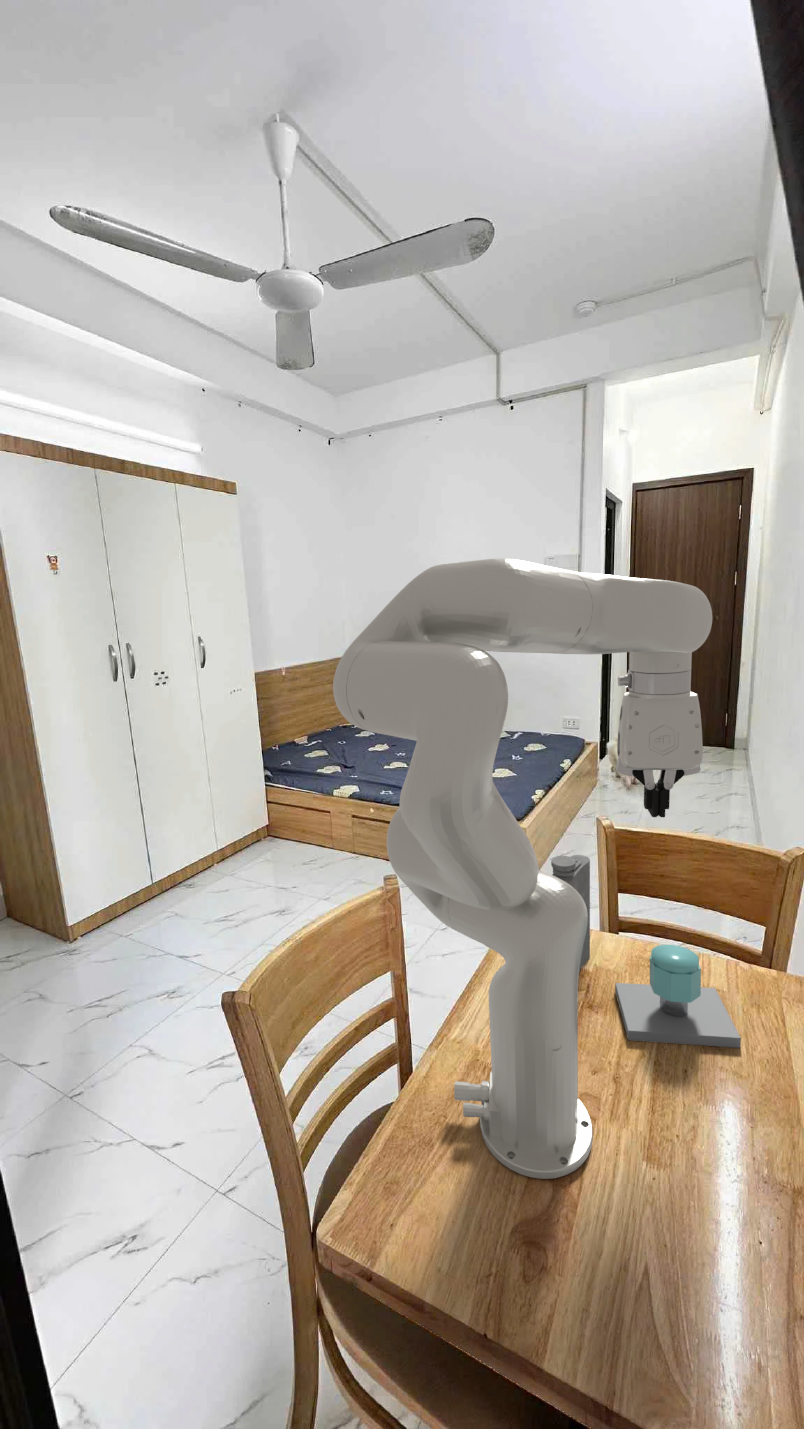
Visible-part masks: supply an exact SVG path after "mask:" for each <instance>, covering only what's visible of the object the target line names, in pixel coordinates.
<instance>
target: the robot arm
mask: <svg viewBox="0 0 804 1429" xmlns="http://www.w3.org/2000/svg"><path fill="white" fill-rule="evenodd" d="M711 605H712V604H711V603H710V601H709V599H708V597H707V595H706V594H705V593H704V592H703V590H701V589H700V588H698V587H697V586H694V585H691V584H687V583H683V582H678V581H673V580H672V581H671V580H666V579H665V580H664V579H653V578H643V577H642V578H640V577H630V576H629V577H628V576H621V575H614V574H605V573H604V574H603V573H593V572H580V571H574V570H570V569H564V568H560V567H554V566H551V565H544V564H541V563H537V562H532V561H526V560H521V559H516V558H506V557H505V558H503V557H502V558H500V557H499V558H486V559H477V560H468V561H460V562H450V563H443V564H438V565H433V566H430V567H429V568H427V569H425V570H423V571H422V572H421V573H420V574H418V575H417V576H415V577H414V578H413V579H412V580H411V581H409V583H407V584H406V585H405V586H404V587H403V588H402V589H401V590H400V591H399V592H398V593H397V594H396V595H395V596H394V597H393V598H392V599H391V600H390V601H389V602H388V603H387V604H386V605H385V607H384V608H382V610H381V611H380V612H379V614H378V615H376V616H375V617H374V619H373V620H371V622H370V623H369V624H368V625H367V626H366V627H365V628H364V629H363V630H362V632H361V633H360V634H359V635H357V637H356V638H355V639H354V640H353V641H352V642H351V644H350V645H349V646H348V647H347V649H346V650H345V651H344V653H343V654H342V655H341V658H340V660H339V661H338V664H337V665H336V669H335V673H334V677H333V681H332V682H333V684H332V692H333V699H334V702H335V704H336V707H337V710H339V713H340V714H341V716H343V718H345V720H346V721H347V722H348V723H349V724H352V725H353V726H354V727H356V728H358V729H361V730H364V731H368V732H371V733H373V734H374V733H376V734H380V735H385V736H391V737H396V738H399V739H400V738H401V739H406V740H411V741H415V742H416V743H415V747H414V750H413V754H412V757H411V760H410V762H409V767H408V770H407V773H406V776H405V779H404V782H403V785H402V787H401V790H400V794H399V807H398V808H397V810H395V812H394V814H393V816H392V818H391V820H390V822H389V824H388V828H387V834H386V852H387V858H388V860H389V863H390V865H391V867H392V869H393V871H394V873H395V874H396V875H397V877H398V878H399V880H400V881H402V883H403V884H404V885H405V886H406V887H407V889H409V891H410V892H412V894H413V895H415V897H416V898H417V899H418V900H419V901H420V902H421V903H422V904H423V906H425V908H426V909H427V910H428V911H430V913H431V914H432V915H433V916H434V917H435V918H437V919H438V920H439V921H440V922H441V923H442V924H444V925H445V926H447V927H448V928H450V929H451V930H454V931H455V932H457V933H458V934H461V935H464V936H466V937H468V938H470V939H471V940H474V941H476V942H478V943H479V944H482V945H484V946H485V947H486V948H489V949H491V950H492V951H495V952H496V953H498V954H499V955H500V956H501V957H502V958H503V959H504V964H503V965H502V966H501V967H499V969H497V970H496V972H495V973H494V975H493V976H492V978H491V980H490V984H489V988H488V1010H489V1012H488V1013H489V1035H490V1036H489V1038H490V1041H489V1042H490V1066H491V1071H490V1072H489V1080H481V1084H480V1083H470V1082H469V1081H468V1082H467V1081H459V1080H458V1081H457V1080H455V1081H454V1089H453V1090H454V1095H453V1096H454V1101H460V1102H461V1101H463V1105H462V1106H463V1107H462V1117H466V1118H479V1125H480V1132H481V1136H482V1139H483V1141H484V1143H485V1146H486V1147H487V1148H488V1151H490V1153H491V1154H492V1156H494V1158H495V1159H497V1161H499V1162H500V1164H502V1165H504V1167H506V1168H508V1170H511V1171H513V1172H515V1173H517V1174H519V1175H522V1176H526V1177H528V1178H529V1177H530V1178H534V1179H543V1180H545V1179H546V1180H547V1179H557V1178H560V1177H563V1176H567V1175H569V1174H571V1173H573V1172H576V1170H578V1169H579V1167H581V1166H582V1165H583V1163H584V1162H585V1161H586V1160H587V1159H588V1157H589V1155H590V1152H591V1150H592V1147H593V1140H594V1138H593V1123H592V1120H591V1117H590V1114H589V1112H588V1110H587V1108H586V1106H585V1105H584V1103H583V1102H582V1101H581V1100H580V1099H579V1094H578V1092H579V1086H578V1084H579V1074H578V1071H579V1070H578V1069H579V1068H578V1067H579V1064H578V1063H579V1062H578V1060H579V1055H578V1052H579V1051H578V1044H579V1042H578V1038H579V1037H578V1036H579V1034H578V1030H579V1028H578V1012H579V1010H578V1007H579V1006H578V1004H579V1003H578V1001H579V1000H578V995H579V976H580V970H579V967H580V960H581V955H582V950H583V945H584V940H585V935H586V930H587V921H588V914H587V908H586V905H585V902H584V900H583V898H582V897H581V895H580V894H579V893H578V892H577V891H576V890H575V889H574V888H573V887H572V886H571V885H569V884H568V883H566V882H565V881H563V880H561V879H559V878H557V877H555V876H553V875H552V874H550V873H548V872H545V871H542V870H539V869H540V868H539V863H538V858H537V855H536V853H535V849H534V846H533V845H532V843H531V841H530V839H529V838H528V836H527V834H526V833H525V831H524V829H523V828H522V827H521V825H520V823H519V821H518V820H517V819H516V817H515V816H514V814H513V813H512V811H511V809H510V808H509V807H508V804H506V802H505V800H504V799H503V798H502V795H501V794H500V792H499V790H498V789H497V787H496V784H495V783H494V780H493V778H494V777H493V771H494V765H495V759H496V756H497V755H496V754H497V751H498V747H499V744H500V740H501V735H502V731H503V728H504V726H505V721H506V717H507V712H508V706H509V691H508V684H507V679H506V676H505V673H504V670H503V669H502V667H501V665H500V663H499V662H498V660H497V659H495V657H493V656H492V655H491V654H490V653H489V652H497V653H498V652H499V653H524V654H526V653H527V654H531V653H532V654H533V653H534V654H556V655H557V654H558V655H606V654H607V655H608V654H619V653H629V655H628V656H629V658H628V659H629V660H628V661H629V662H628V663H629V664H628V666H629V668H628V670H627V673H626V674H624V675H619V676H618V677H617V686H618V687H625V688H627V690H628V691H626V692H625V693H623V697H622V702H621V707H620V713H619V720H618V730H617V741H616V742H617V743H616V748H617V749H616V752H617V761H616V764H615V770H616V772H617V774H619V775H623V776H628V777H634V778H635V779H636V780H637V781H639V783H640V784H642V785H643V807H644V810H647V811H648V813H649V814H650V816H651V817H652V818H657V817H660V818H666V810H670V800H671V799H670V795H671V792H670V790H671V789H673V788H674V785H675V784H676V783H677V782H679V781H680V780H681V779H682V778H683V777H684V776H685V777H686V776H690V775H694V774H695V775H696V774H699V773H700V772H701V765H702V762H703V744H704V743H703V730H702V729H703V728H702V727H703V726H702V718H701V716H702V715H701V714H702V713H701V708H700V707H701V706H700V701H699V695H698V693H695V692H693V691H691V687H692V686H691V685H692V684H691V683H692V660H693V659H692V658H693V653H694V652H695V651H697V650H698V649H699V648H701V646H703V645H704V643H705V642H706V640H707V639H708V637H709V635H710V633H711V630H712V624H713V609H712V606H711ZM654 771H660V772H659V778H658V780H657V782H655V778H654ZM470 1101H472V1102H473V1101H474V1102H481V1103H480V1104H478V1103H477V1104H475V1103H472V1102H470Z"/></svg>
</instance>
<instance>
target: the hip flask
mask: <svg viewBox="0 0 804 1429" xmlns="http://www.w3.org/2000/svg"><path fill="white" fill-rule="evenodd" d="M550 862H551V863H550V864H551V867H552V874H551V875H553V876H555V877H557V878H559V879H561V880H563V881H565V882H566V883H568V884H569V885H571V886H572V887H573V888H574V889H575V890H576V891H577V892H578V893H579V894H580V895H581V897H582V898H583V900H584V902H585V905H586V908H587V914H588V921H587V930H586V935H585V940H584V945H583V950H582V955H581V960H580V967H579V971H581V969H582V968H583V966H585V964H586V963H587V962H588V961H589V960H590V959H591V954H590V952H591V942H590V941H591V903H590V902H591V879H590V878H591V859H590V858H589V856H587V855H583V854H574V855H571V856H568V855H557V856H554V857H552V859H551V860H550Z"/></svg>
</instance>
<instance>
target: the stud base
mask: <svg viewBox="0 0 804 1429" xmlns="http://www.w3.org/2000/svg"><path fill="white" fill-rule="evenodd" d="M614 986H615V988H614V991H615V992H614V993H615V995H616V999H617V1000H616V1001H617V1003H618V1007H619V1010H620V1015H621V1017H622V1022H623V1026H624V1030H625V1033H626V1037H627V1040H628V1041H636V1042H637V1041H638V1042H649V1043H664V1044H678V1045H694V1046H708V1047H723V1048H733V1049H734V1048H735V1049H736V1048H737V1049H741V1045H742V1044H741V1041H742V1038H741V1036H740V1034H739V1032H738V1029H737V1028H736V1026H735V1024H734V1022H733V1020H732V1018H731V1016H730V1015H729V1012H728V1010H727V1009H726V1007H725V1004H724V1003H723V1001H722V999H721V997H720V995H719V993H718V991H717V989H716V987H703V986H702V987H701V996H699V997H698V998H697V999H695V1000H694V1001H692V1002H691V1003H688V1013H687V1015H686V1016H684V1017H672V1016H669V1015H667V1014H665V1013H664V1012H663V1011H662V1010H661V1009H660V996H658V995H656V994H654V992H653V990H652V987H651V985H650V984H646V983H645V984H644V983H628V982H627V983H625V982H624V983H623V982H615V983H614Z"/></svg>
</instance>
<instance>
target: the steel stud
mask: <svg viewBox="0 0 804 1429" xmlns="http://www.w3.org/2000/svg"><path fill="white" fill-rule="evenodd" d="M660 1009H661V1010H662V1011H663V1012H664V1013H665V1014H667V1015H669V1016H672V1017H684V1016H686V1015H687V1013H688V1003H687V1002H671V1001H669V1000H667V999H665V998H663V997H661V996H660Z"/></svg>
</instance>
